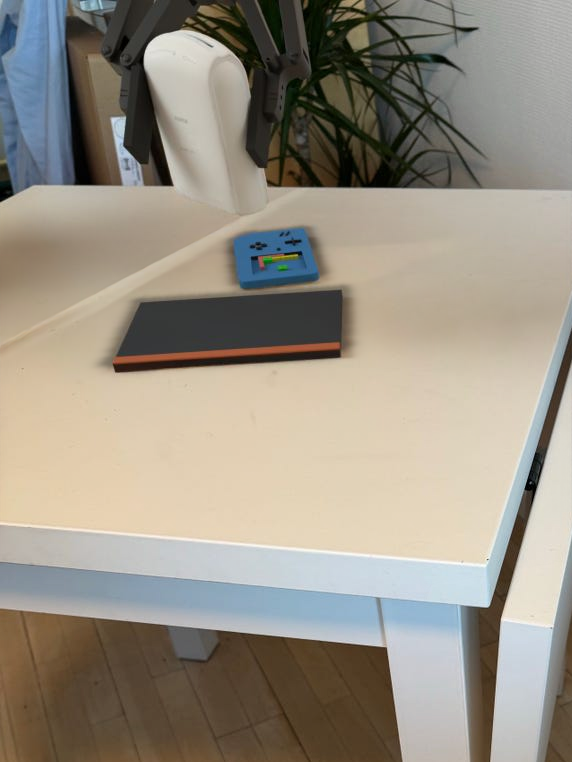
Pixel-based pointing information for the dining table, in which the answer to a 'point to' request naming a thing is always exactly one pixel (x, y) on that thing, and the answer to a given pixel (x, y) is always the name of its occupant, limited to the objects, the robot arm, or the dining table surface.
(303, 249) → the handheld gaming device
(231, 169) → the photo printer
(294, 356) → the mat
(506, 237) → the dining table surface
